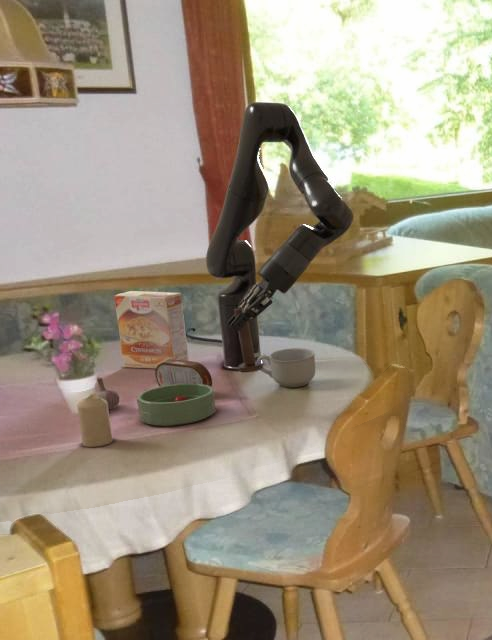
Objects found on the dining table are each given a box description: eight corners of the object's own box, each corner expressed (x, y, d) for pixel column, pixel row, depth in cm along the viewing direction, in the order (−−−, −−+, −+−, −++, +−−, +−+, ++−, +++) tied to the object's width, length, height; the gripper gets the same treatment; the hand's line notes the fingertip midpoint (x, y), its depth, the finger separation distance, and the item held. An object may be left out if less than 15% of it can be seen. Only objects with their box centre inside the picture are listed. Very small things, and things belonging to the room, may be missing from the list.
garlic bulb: (104, 416, 229) (100, 382, 227) (78, 413, 231) (73, 379, 229) (129, 406, 236) (125, 373, 234) (103, 404, 238) (98, 371, 236)
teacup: (324, 379, 259) (321, 348, 257) (306, 391, 249) (303, 359, 247) (271, 377, 260) (268, 347, 258) (251, 389, 250) (248, 357, 248)
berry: (176, 407, 234) (180, 395, 235) (187, 410, 234) (191, 398, 234) (169, 405, 231) (173, 394, 232) (180, 409, 231) (184, 397, 231)
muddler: (235, 370, 227) (223, 310, 223) (255, 364, 231) (244, 304, 227) (246, 374, 224) (235, 312, 220) (267, 367, 228) (256, 307, 224)
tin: (214, 396, 244) (211, 362, 242) (205, 399, 242) (201, 365, 239) (165, 390, 249) (160, 356, 247) (155, 393, 246) (150, 360, 244)
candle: (89, 438, 214) (83, 393, 212) (116, 438, 215) (110, 392, 212) (78, 447, 209) (71, 401, 206) (106, 446, 209) (99, 400, 207)
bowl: (129, 416, 229) (126, 393, 228) (198, 402, 240) (195, 379, 238) (156, 432, 218) (153, 407, 217) (227, 416, 229) (225, 392, 228)
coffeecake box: (122, 367, 270) (112, 295, 265) (139, 360, 276) (130, 290, 271) (174, 370, 267) (165, 297, 262) (190, 363, 274) (181, 291, 269)
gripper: (264, 252, 230) (212, 311, 227) (278, 260, 219) (224, 323, 216) (290, 273, 234) (240, 331, 231) (305, 282, 223) (252, 344, 220)
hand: (232, 327), depth 224 cm, fingers closed on muddler, 2 cm apart
